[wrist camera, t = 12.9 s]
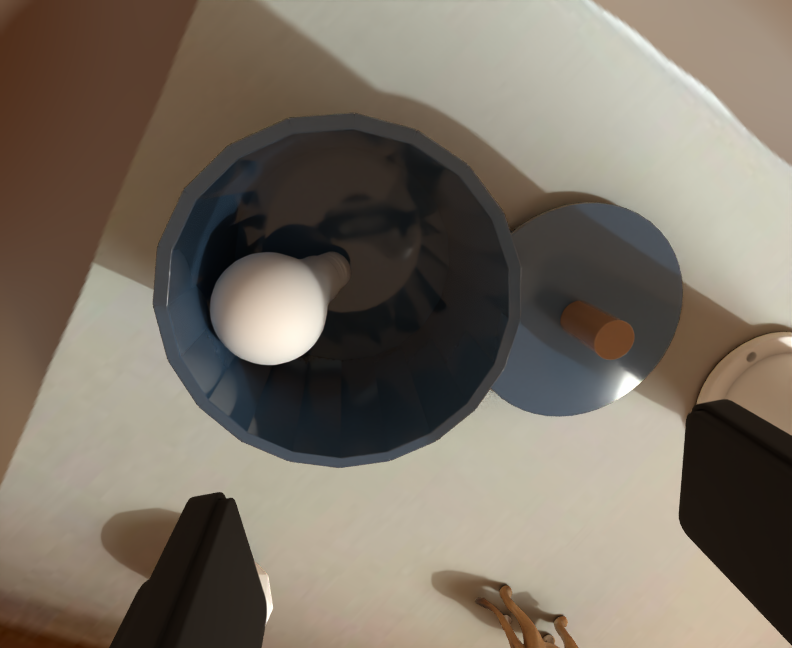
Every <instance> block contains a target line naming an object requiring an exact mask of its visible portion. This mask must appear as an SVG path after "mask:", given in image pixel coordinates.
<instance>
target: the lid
mask: <svg viewBox="0 0 792 648" xmlns="http://www.w3.org/2000/svg"><path fill="white" fill-rule="evenodd" d="M511 236H512V239H513V242H514V245H515V248H516V251H517V254H518V257H519V260H520V263H521V265H520V266H521V318H520V319H521V320H520V323H519V326H518V330H517V333H516V336H515V339H514V342H513V345H512V348H511V351H510V354H509V357H508V360H507V363H506V366H505V368H504V370H503V371H502V373H501V374H500V376H499V377H498V378H497V380H496V381H495V383H494V384H493V386H492V387H491V389H492V390H493V391H494V392H495V393H496V394H498V395H499V396H500V397H501V398H502V399H504V400H505V401H507V402H508V403H510V404H511V405H513V406H515V407H517V408H520V409H522V410H524V411H528V412H531V413H534V414H539V415H545V416H573V415H578V414H583V413H587V412H590V411H593V410H597V409H599V408H602V407H604V406H606V405H609V404H611V403H613V402H614V401H616V400H618V399H620V398H621V397H623V396H624V395H626V394H627V393H629V392H630V391H631V390H633V389H634V388H635V387H636V386H637V385H639V384H640V383H641V382H642V381H643V380H644V379H645V378H646V377H647V376H648V375H649V374H650V373H651V372H652V370H653V369H654V368H655V367H656V365H657V364H658V363H659V361H660V360H661V359H662V357H663V356H664V354H665V352H666V350H667V349H668V347H669V345H670V343H671V341H672V339H673V336H674V334H675V332H676V328H677V325H678V322H679V319H680V313H681V308H682V297H683V287H682V276H681V272H680V267H679V264H678V261H677V258H676V255H675V253H674V251H673V249H672V247H671V246H670V244H669V242H668V240H667V239H666V238H665V237H664V235H663V234H662V233H661V232H660V230H659V229H658V228H656V227H655V226H654V225H653V224H652V223H651V222H650V221H648V220H647V219H645V218H644V217H642V216H641V215H639V214H638V213H635V212H633V211H631V210H629V209H627V208H623V207H620V206H616V205H612V204H604V203H596V202H588V203H575V204H569V205H563V206H560V207H557V208H554V209H550V210H548V211H546V212H544V213H541V214H539V215H537V216H535V217H533V218H532V219H530V220H528V221H527V222H525V223H523V224H522V225H520V226H519V227H518V228H517V229H515V230H514V231H513V232H512V233H511Z"/></svg>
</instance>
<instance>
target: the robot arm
mask: <svg viewBox="0 0 792 648" xmlns="http://www.w3.org/2000/svg"><path fill="white" fill-rule="evenodd" d="M679 521H680V524H681V526H682V529H683V530H684V532H685V533H686V535H687V536H688V537H689V538H690V539H691V540H692V541H693V542H694V543H695V544H696V545H697V546H698V547H699V548H700V549H701V551H702V552H703V553H704V554H705V555H706V556H707V557H708V558H709V559H710V560H711V561H712V562H713V563H714V564H715V565H716V566H717V567H718V568H719V569H720V571H721V572H722V573H723V574H724V575H725V576H726V577H727V578H728V579H729V580H730V581H731V582H732V583H733V584H734V585H735V586H736V587H737V588H738V589H739V591H740V592H741V593H742V594H743V595H744V596H745V597H746V598H747V599H748V600H749V601H750V602H751V603H752V604H753V605H754V606H755V607H756V608H757V609H758V611H759V612H760V613H761V614H762V615H763V616H764V617H765V618H766V619H767V620H768V621H769V622H770V623H771V624H772V625H773V626H774V627H775V628H776V629H777V631H778V632H779V633H780V634H781V635H782V636H783V637H784V638H785V639H786V640H787V641H788V642H789V643H790V644H791V645H792V332H777V333H769V334H766V335H763V336H759V337H756V338H754V339H752V340H750V341H748V342H746V343H744V344H742V345H740V346H739V347H738V348H736V349H735V350H733V351H732V352H730V353H729V354H728V355H727V356H726V357H725V358H724V359H723V360H722V361H720V362H719V363H718V365H717V366H716V367H715V368H714V370H713V371H712V372H711V373H710V375H709V376H708V378H707V380H706V381H705V383H704V385H703V387H702V389H701V392H700V394H699V397H698V400H697V405H695V406H694V408H693V409H692V412H691V413H689V414H688V416H687V419H686V430H685V442H684V455H683V467H682V480H681V492H680V505H679ZM266 619H267V603H266V597H265V594H264V591H263V588H262V584H261V581H260V578H259V575H258V572H257V569H256V565H255V562H254V559H253V556H252V553H251V550H250V546H249V543H248V540H247V537H246V534H245V530H244V527H243V524H242V521H241V518H240V515H239V511H238V508H237V505H236V502H235V500H234V499H233V498H227V499H226V497H225V495H224V494H223V493H221V492H217V493H212V494H207V495H201V496H196V497H192V498H190V499H189V500H188V502H187V503H186V506H185V508H184V510H183V512H182V514H181V516H180V518H179V520H178V522H177V524H176V526H175V528H174V530H173V532H172V534H171V536H170V538H169V540H168V542H167V544H166V546H165V548H164V551H163V553H162V555H161V557H160V559H159V561H158V563H157V565H156V567H155V569H154V571H153V573H152V575H151V577H150V579H149V580H147V581H146V582H145V583H144V584H142V586H141V587H140V589H139V590H138V592H137V594H136V596H135V598H134V600H133V602H132V604H131V606H130V608H129V609H128V611H127V613H126V615H125V617H124V619H123V621H122V623H121V625H120V627H119V629H118V631H117V633H116V635H115V637H114V639H113V641H112V643H111V645H110V647H109V648H261V647H262V642H263V636H264V631H265V625H266Z"/></svg>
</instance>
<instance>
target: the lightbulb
mask: <svg viewBox="0 0 792 648" xmlns="http://www.w3.org/2000/svg"><path fill="white" fill-rule="evenodd" d="M350 277H351V268H350V265H349V263H348V261H347V260H346V258H345V257H344V256H342V255H341V254H339V253H337V252H327V253H323V254H321V255H318V256H308V257H306V258H303V259H297V258H294V257H291V256H287V255H284V254H280V253H274V252H263V253H255V254H250V255H248V256H245V257H243V258H241V259H239V260H237V261H235V262H234V263H233V264H232V265H230V266H229V267H228V268H227V269H226V270H225V271H224V272H223V273H222V274H221V276H220V277H219V279H218V280H217V282H216V283H215V286H214V289H213V292H212V295H211V301H210V318H211V322H212V325H213V328H214V330H215V332H216V334H217V336H218V338H219V339H220V341H221V342H222V343H223V345H224V346H225V347H226V348H227V349H228V350H229V351H231V352H232V353H233V354H234V355H236V356H238V357H240V358H241V359H244V360H247V361H249V362H252V363H256V364H262V365H277V364H282V363H286V362H289V361H292V360H294V359H296V358H298V357H300V356H302V355H303V354H305V353H306V352H307V351H308V350H309V349H310V348H311V347H312V346H313V345H314V344H315V343H316V341H317V340H318V338H319V336H320V334H321V333H322V331H323V328H324V325H325V321H326V316H327V308H328V304H329V303H330V302H331V301H332V300H333V299H334V298H335V297H336V296H337V294H338V292H339V290H340V289H341V288H342V287H343V286H345V285H346V284H347V282H348V281H349V279H350Z"/></svg>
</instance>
